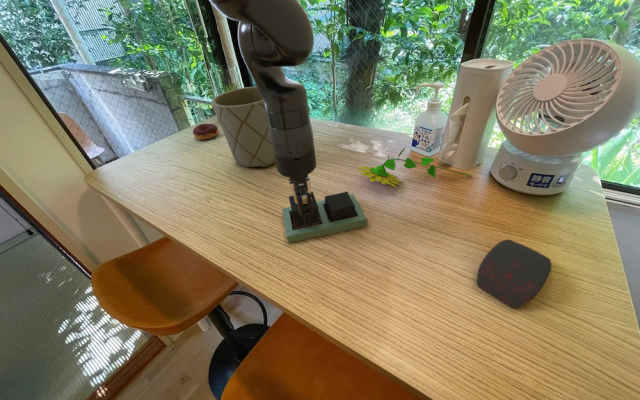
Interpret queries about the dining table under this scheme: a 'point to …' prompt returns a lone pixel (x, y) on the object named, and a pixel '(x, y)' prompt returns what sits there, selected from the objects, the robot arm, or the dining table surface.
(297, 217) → the black block
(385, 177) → the flower
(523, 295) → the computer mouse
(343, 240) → the dining table surface
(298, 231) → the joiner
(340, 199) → the black near-cubic block
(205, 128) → the donut
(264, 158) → the planter
